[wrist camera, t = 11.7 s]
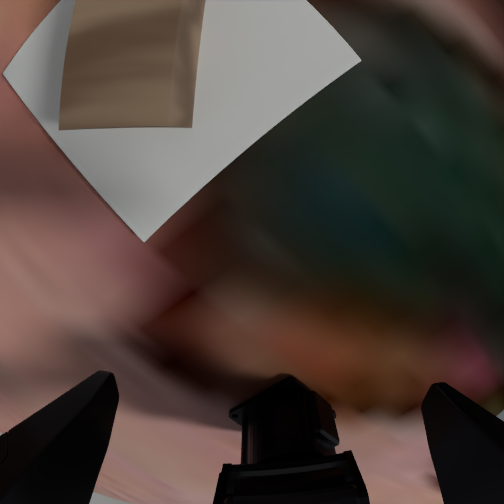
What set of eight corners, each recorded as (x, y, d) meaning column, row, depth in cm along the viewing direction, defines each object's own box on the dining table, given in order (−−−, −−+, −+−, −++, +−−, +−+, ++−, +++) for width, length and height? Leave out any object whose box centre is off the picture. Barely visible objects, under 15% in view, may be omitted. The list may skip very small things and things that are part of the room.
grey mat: (147, 238, 19) (144, 242, 18) (9, 74, 15) (2, 73, 14) (357, 63, 15) (361, 60, 14) (182, -88, 11) (179, -94, 10)
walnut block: (168, 126, 11) (198, -79, 8) (58, 130, 11) (93, -62, 8) (192, 128, 16) (210, -33, 12) (106, 128, 16) (127, -26, 12)
